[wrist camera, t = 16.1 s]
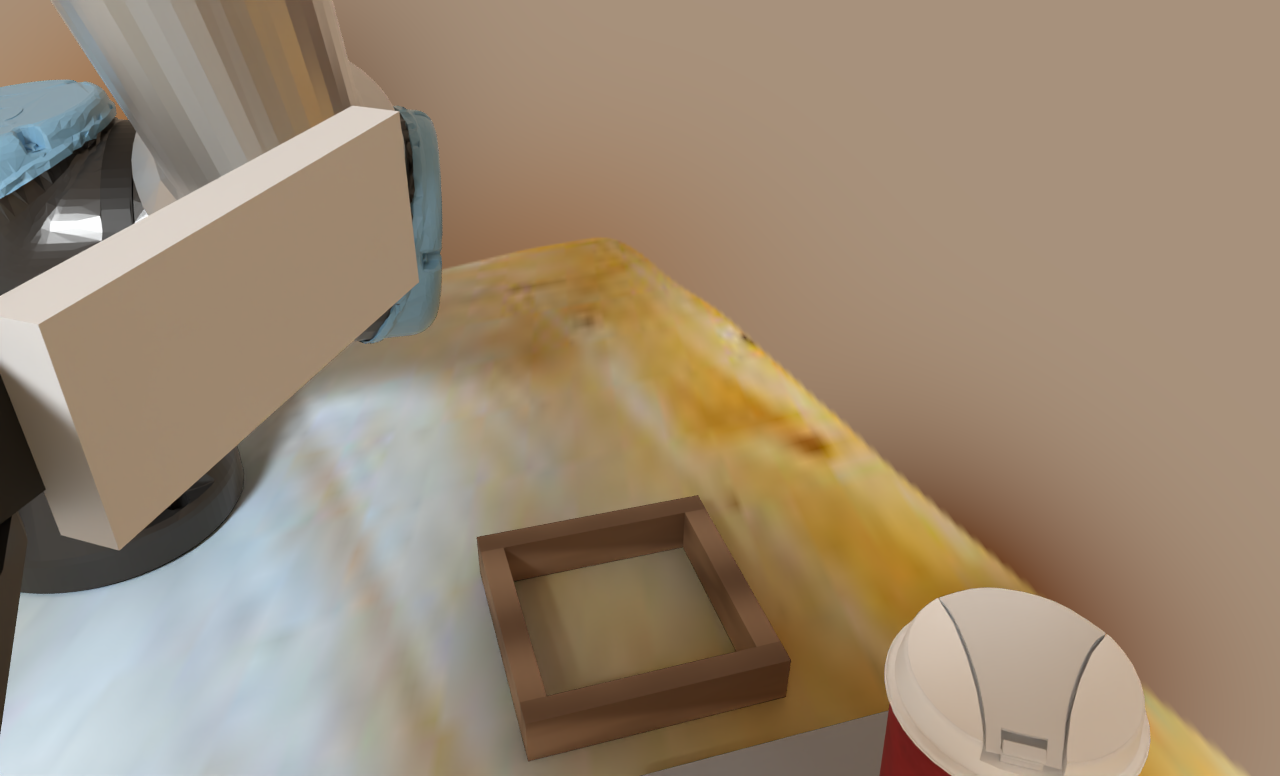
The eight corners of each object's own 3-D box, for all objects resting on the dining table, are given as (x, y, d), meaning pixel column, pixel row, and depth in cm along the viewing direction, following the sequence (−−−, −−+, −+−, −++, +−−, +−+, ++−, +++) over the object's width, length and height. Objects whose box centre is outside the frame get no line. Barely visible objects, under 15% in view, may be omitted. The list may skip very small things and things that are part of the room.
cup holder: (480, 572, 54) (476, 537, 52) (695, 529, 57) (697, 495, 56) (528, 761, 44) (525, 724, 42) (785, 696, 47) (790, 660, 46)
